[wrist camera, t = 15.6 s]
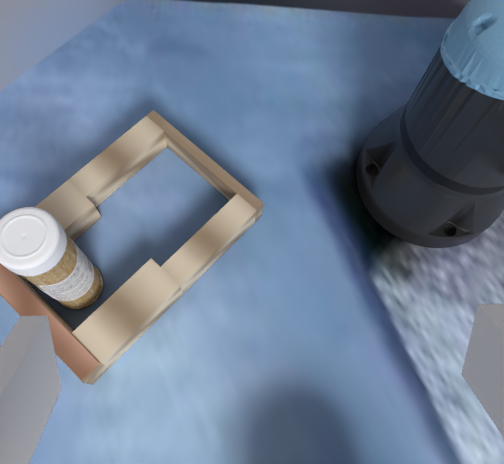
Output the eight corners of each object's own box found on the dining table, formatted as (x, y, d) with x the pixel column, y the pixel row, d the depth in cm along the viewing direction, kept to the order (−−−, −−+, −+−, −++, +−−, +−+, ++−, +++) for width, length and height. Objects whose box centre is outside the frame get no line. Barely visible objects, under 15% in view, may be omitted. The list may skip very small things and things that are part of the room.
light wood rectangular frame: (157, 126, 51) (153, 108, 48) (261, 215, 48) (263, 202, 45) (-16, 270, 44) (-33, 260, 41) (92, 384, 41) (81, 382, 38)
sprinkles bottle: (51, 271, 45) (-17, 214, 32) (99, 257, 46) (52, 197, 33) (59, 317, 43) (-8, 276, 31) (109, 302, 44) (63, 257, 31)
